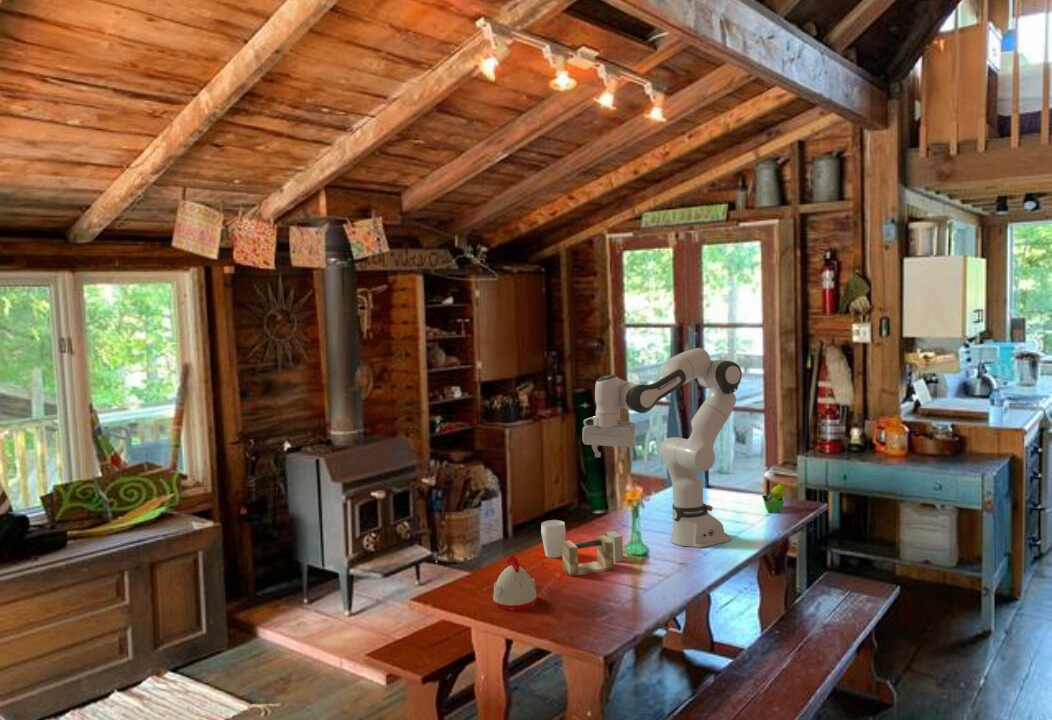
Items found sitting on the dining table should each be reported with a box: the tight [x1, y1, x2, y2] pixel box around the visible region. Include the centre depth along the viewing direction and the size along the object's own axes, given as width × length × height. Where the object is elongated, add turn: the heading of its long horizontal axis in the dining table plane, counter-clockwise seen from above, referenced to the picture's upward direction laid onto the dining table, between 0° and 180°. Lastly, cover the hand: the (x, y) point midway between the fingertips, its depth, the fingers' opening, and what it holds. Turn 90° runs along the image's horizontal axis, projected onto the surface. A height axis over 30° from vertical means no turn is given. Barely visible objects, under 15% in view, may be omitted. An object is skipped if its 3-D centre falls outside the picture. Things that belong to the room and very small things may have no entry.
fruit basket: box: [762, 483, 786, 514], centre depth 360 cm, size 11×9×11 cm
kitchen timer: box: [492, 554, 538, 611], centre depth 271 cm, size 14×14×15 cm
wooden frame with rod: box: [561, 535, 615, 577], centre depth 298 cm, size 16×8×10 cm, turn 106°
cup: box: [540, 519, 566, 559], centre depth 316 cm, size 9×9×12 cm
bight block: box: [606, 530, 624, 563], centre depth 308 cm, size 3×7×9 cm, turn 16°
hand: (609, 458), depth 310 cm, fingers open, 8 cm apart
